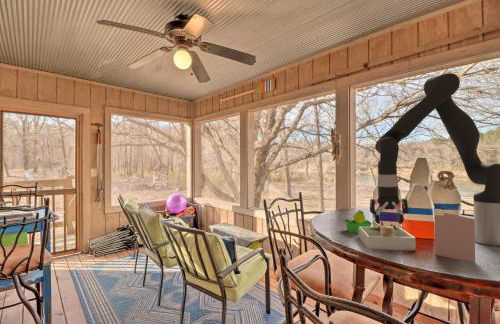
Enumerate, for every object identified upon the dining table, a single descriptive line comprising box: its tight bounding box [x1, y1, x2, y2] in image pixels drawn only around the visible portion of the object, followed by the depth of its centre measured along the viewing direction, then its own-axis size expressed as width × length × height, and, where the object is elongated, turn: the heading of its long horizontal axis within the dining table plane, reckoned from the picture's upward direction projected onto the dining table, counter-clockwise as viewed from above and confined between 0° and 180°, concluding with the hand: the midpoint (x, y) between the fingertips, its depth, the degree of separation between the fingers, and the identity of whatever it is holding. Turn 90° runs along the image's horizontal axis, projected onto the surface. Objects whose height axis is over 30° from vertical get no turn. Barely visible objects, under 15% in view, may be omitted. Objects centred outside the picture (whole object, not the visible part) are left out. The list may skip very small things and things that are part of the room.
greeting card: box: [433, 212, 476, 263], centre depth 95 cm, size 11×7×15 cm, turn 12°
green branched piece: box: [370, 220, 397, 236], centre depth 114 cm, size 3×12×8 cm, turn 85°
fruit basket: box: [344, 210, 372, 234], centre depth 130 cm, size 11×9×11 cm
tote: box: [358, 226, 417, 251], centre depth 112 cm, size 18×16×5 cm
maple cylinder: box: [379, 225, 394, 237], centre depth 109 cm, size 5×5×7 cm
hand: (389, 223), depth 110 cm, fingers open, 8 cm apart
